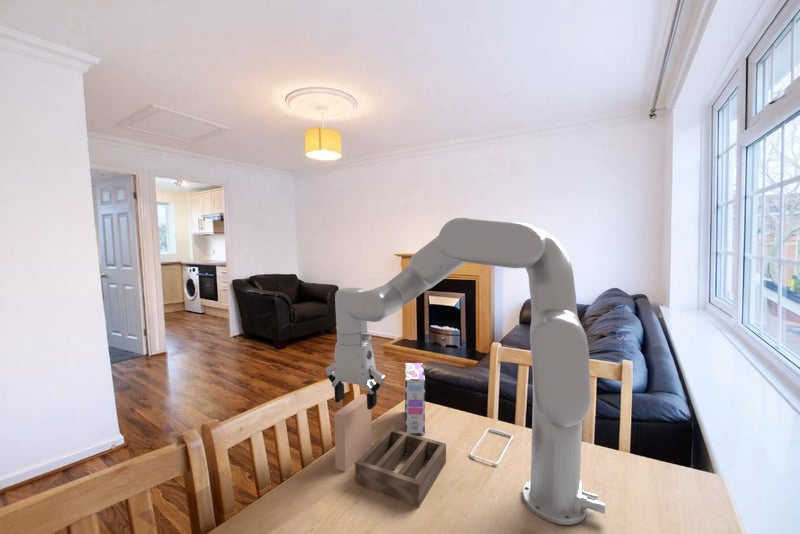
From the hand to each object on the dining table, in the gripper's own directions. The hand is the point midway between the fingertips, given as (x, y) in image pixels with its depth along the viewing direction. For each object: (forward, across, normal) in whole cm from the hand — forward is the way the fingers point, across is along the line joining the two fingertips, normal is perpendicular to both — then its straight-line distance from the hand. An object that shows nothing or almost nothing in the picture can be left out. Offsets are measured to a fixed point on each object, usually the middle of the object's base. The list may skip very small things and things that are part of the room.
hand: (355, 403), depth 91 cm
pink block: (+14, +1, 0) cm, 14 cm away
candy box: (+15, -6, -22) cm, 27 cm away
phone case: (+16, -30, -20) cm, 39 cm away
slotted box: (+15, -13, 0) cm, 20 cm away
